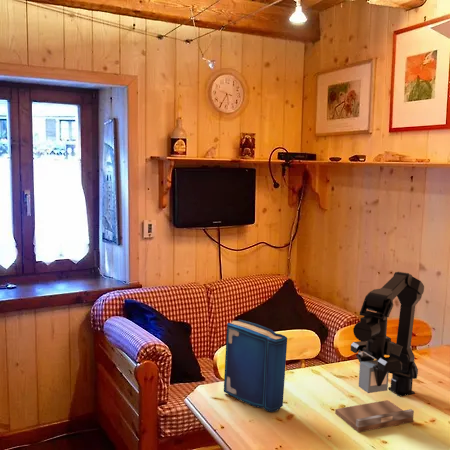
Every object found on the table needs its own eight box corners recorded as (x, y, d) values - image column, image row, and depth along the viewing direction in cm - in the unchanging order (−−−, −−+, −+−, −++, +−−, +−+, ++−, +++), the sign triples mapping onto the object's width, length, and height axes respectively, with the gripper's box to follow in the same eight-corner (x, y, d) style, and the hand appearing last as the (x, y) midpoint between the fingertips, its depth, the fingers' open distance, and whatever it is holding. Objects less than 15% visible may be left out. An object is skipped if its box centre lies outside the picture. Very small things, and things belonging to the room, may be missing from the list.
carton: (358, 386, 162) (360, 361, 161) (377, 383, 164) (379, 359, 163) (368, 393, 157) (369, 368, 156) (387, 390, 159) (389, 365, 158)
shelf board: (387, 404, 170) (388, 394, 169) (413, 421, 158) (414, 411, 158) (335, 413, 162) (335, 402, 162) (358, 432, 151) (358, 421, 151)
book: (287, 409, 165) (290, 333, 162) (273, 416, 159) (276, 338, 156) (236, 387, 179) (238, 317, 176) (222, 394, 174) (224, 322, 171)
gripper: (419, 341, 152) (415, 391, 154) (380, 322, 170) (377, 368, 171) (387, 344, 148) (383, 396, 150) (350, 324, 166) (348, 371, 168)
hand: (373, 382), depth 160 cm, fingers closed on carton, 5 cm apart
